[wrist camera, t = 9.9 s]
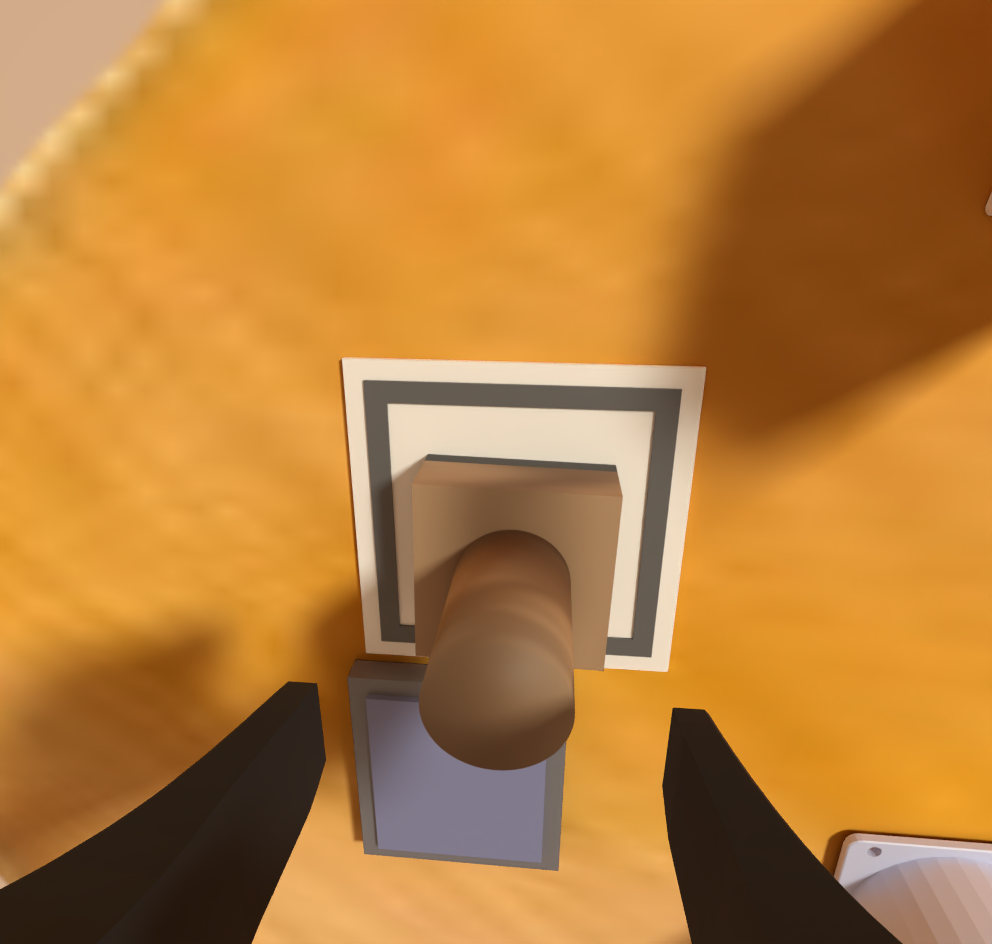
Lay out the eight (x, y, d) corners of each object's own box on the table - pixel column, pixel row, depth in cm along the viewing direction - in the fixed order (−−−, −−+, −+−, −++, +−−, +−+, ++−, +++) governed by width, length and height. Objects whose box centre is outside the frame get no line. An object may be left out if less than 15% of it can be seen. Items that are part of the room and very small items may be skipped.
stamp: (615, 464, 21) (647, 606, 13) (599, 624, 23) (618, 821, 16) (428, 453, 21) (357, 585, 14) (429, 611, 23) (370, 797, 16)
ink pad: (568, 673, 24) (568, 696, 23) (558, 848, 27) (558, 876, 26) (355, 659, 25) (345, 682, 24) (370, 832, 28) (362, 859, 27)
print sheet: (705, 366, 20) (706, 368, 19) (666, 668, 24) (667, 673, 23) (344, 356, 20) (340, 359, 20) (367, 649, 25) (365, 654, 24)
